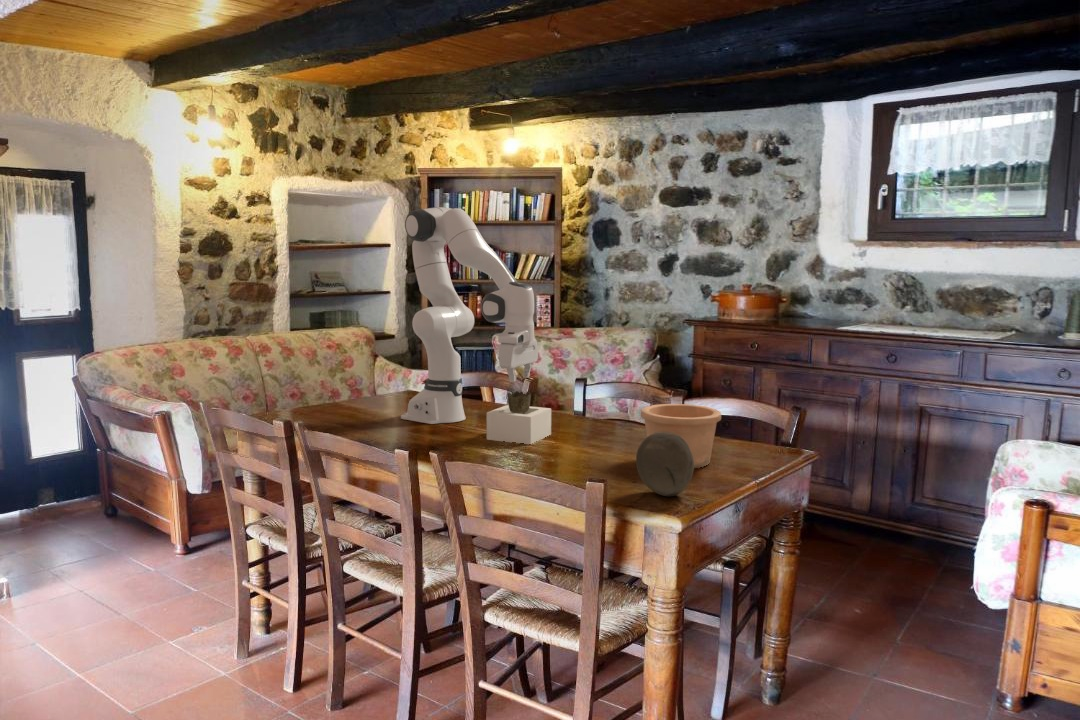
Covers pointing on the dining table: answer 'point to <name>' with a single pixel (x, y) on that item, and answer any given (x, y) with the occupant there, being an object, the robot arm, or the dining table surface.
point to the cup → (519, 402)
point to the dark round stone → (665, 463)
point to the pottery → (685, 426)
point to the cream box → (518, 425)
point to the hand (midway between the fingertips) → (519, 379)
